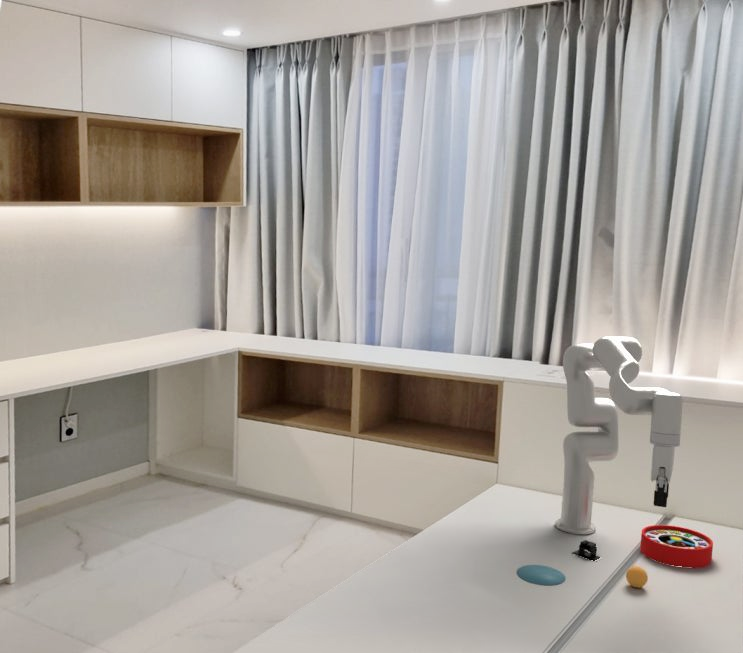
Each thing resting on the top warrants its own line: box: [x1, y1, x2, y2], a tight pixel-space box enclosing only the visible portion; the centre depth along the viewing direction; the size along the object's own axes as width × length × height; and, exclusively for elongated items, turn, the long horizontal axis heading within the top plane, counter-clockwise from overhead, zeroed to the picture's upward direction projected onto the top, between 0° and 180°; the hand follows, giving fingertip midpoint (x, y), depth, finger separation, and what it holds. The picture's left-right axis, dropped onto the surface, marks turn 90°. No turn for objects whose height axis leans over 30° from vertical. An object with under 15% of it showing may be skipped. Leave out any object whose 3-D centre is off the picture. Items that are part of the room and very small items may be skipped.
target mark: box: [516, 564, 566, 586], centre depth 214 cm, size 13×13×1 cm
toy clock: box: [639, 524, 714, 569], centre depth 234 cm, size 20×6×20 cm
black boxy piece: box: [571, 539, 601, 562], centre depth 230 cm, size 12×7×5 cm, turn 42°
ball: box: [625, 565, 649, 589], centre depth 210 cm, size 6×6×6 cm
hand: (660, 501), depth 210 cm, fingers open, 9 cm apart
